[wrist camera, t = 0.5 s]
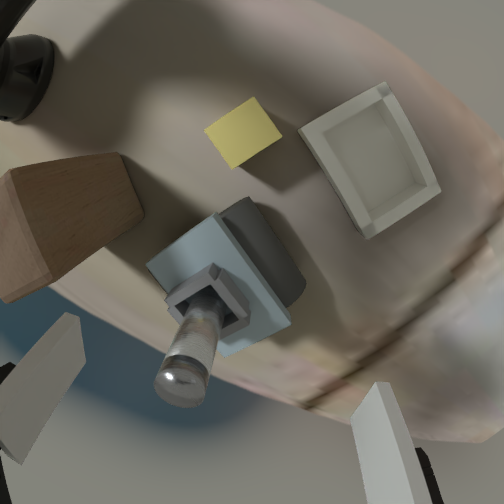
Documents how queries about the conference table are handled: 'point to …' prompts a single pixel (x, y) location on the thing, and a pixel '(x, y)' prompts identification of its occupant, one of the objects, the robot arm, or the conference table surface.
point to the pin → (192, 351)
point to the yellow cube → (243, 133)
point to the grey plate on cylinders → (232, 274)
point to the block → (60, 218)
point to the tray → (372, 159)
